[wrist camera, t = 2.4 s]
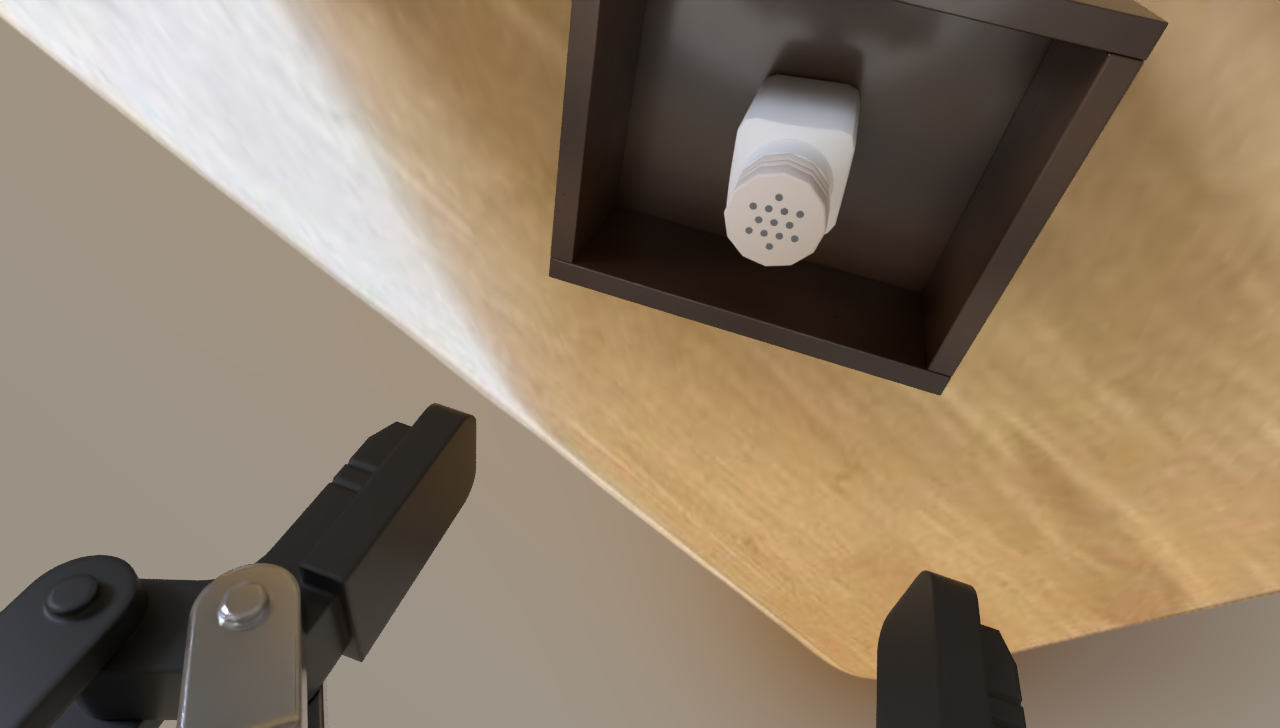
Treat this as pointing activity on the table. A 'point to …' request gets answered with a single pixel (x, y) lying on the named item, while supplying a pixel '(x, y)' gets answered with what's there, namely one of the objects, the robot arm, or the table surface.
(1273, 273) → the table surface
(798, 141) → the pepper shaker
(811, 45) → the box
